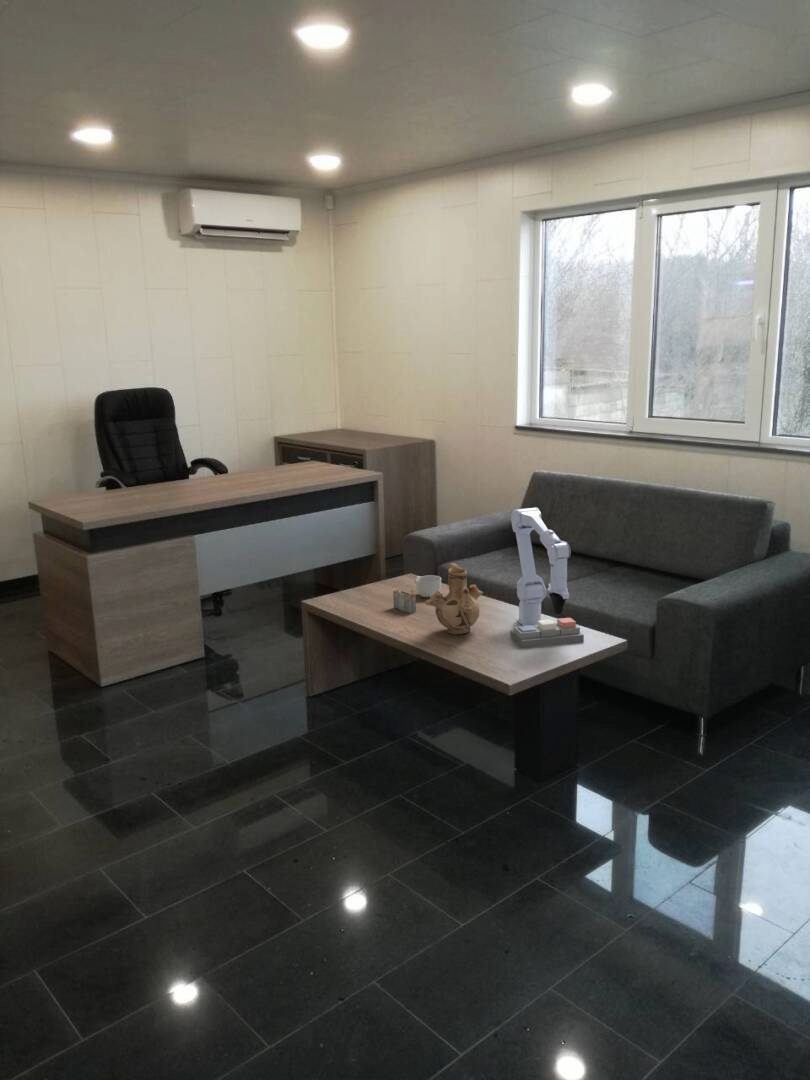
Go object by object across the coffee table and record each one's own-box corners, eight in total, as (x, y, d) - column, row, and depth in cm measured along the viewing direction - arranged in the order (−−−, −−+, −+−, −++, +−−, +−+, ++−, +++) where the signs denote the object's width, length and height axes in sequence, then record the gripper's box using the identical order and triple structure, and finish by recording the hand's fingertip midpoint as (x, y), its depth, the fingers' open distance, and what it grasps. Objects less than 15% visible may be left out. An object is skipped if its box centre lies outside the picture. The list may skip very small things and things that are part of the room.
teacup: (446, 597, 364) (446, 579, 362) (424, 601, 358) (424, 582, 357) (429, 590, 375) (429, 572, 374) (408, 593, 370) (407, 575, 369)
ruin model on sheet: (417, 613, 343) (416, 589, 341) (411, 614, 342) (410, 591, 340) (399, 607, 352) (398, 584, 350) (393, 608, 350) (393, 585, 348)
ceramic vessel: (424, 635, 314) (423, 569, 309) (446, 620, 331) (445, 558, 326) (470, 642, 306) (470, 574, 301) (490, 626, 323) (490, 562, 317)
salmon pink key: (557, 625, 309) (557, 618, 309) (570, 624, 310) (570, 617, 310) (562, 629, 305) (562, 622, 304) (575, 628, 306) (575, 621, 305)
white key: (537, 627, 308) (537, 620, 307) (550, 626, 309) (550, 619, 308) (542, 631, 303) (542, 624, 303) (556, 630, 304) (556, 623, 304)
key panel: (510, 637, 310) (510, 625, 309) (569, 631, 315) (569, 619, 314) (522, 647, 299) (522, 635, 298) (583, 641, 304) (583, 629, 303)
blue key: (517, 633, 306) (517, 626, 306) (531, 631, 308) (531, 625, 307) (522, 637, 302) (522, 630, 301) (536, 636, 303) (536, 629, 302)
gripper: (540, 572, 309) (540, 608, 312) (555, 582, 295) (555, 619, 298) (558, 570, 310) (558, 606, 313) (574, 580, 297) (574, 618, 299)
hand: (558, 613), depth 306 cm, fingers closed
